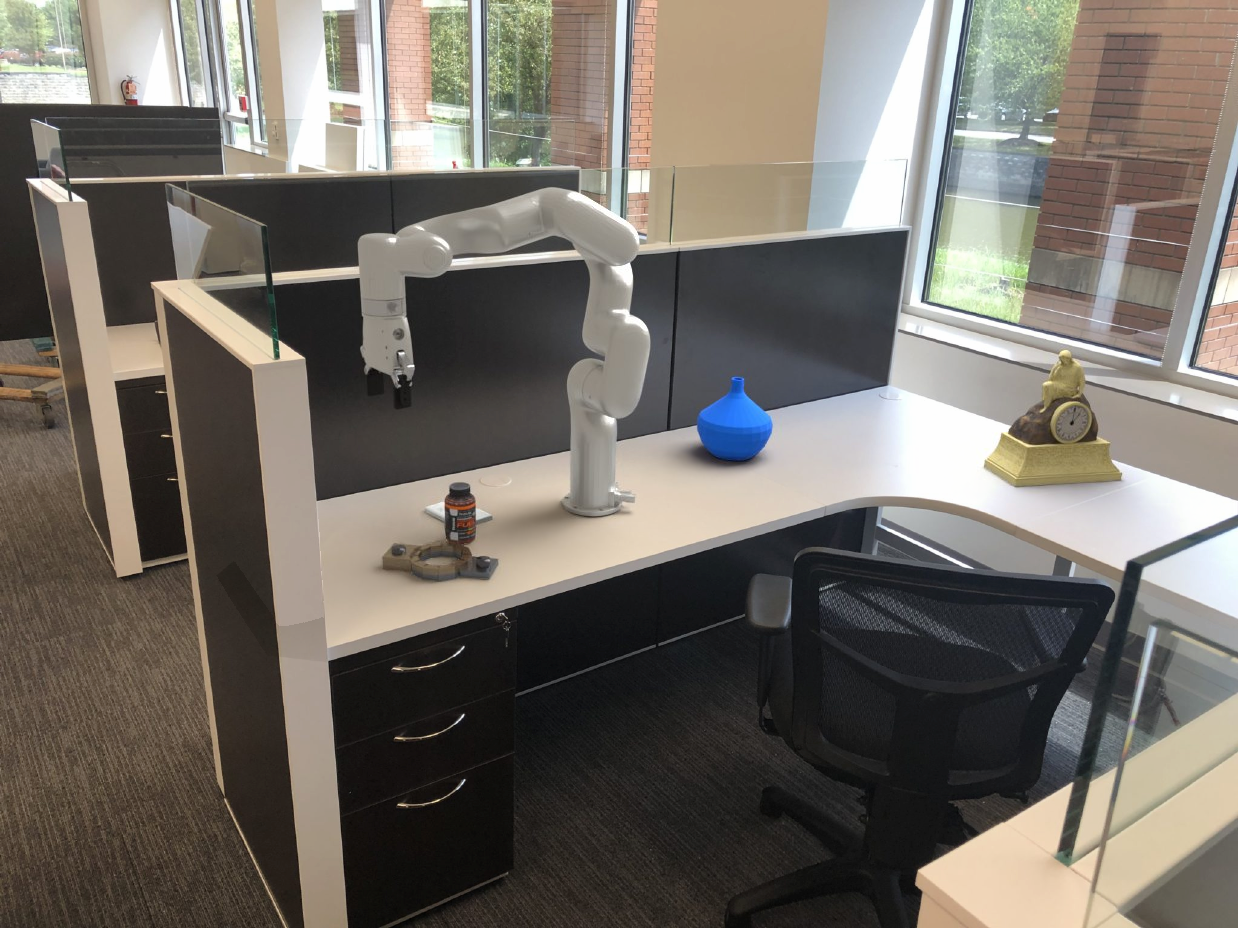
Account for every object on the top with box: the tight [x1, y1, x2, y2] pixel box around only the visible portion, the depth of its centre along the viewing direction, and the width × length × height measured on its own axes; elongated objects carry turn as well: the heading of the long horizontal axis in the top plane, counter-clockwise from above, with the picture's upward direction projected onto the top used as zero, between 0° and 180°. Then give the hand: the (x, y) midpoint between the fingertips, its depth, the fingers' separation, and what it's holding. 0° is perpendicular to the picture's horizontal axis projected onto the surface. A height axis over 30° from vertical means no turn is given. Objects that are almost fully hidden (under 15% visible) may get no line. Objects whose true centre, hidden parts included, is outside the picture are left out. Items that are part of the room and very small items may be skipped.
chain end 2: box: [410, 551, 499, 582], centre depth 177 cm, size 16×11×2 cm
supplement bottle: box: [443, 481, 477, 545], centre depth 187 cm, size 6×6×11 cm
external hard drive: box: [424, 501, 494, 526], centre depth 199 cm, size 2×8×12 cm
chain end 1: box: [381, 541, 473, 575], centre depth 177 cm, size 16×11×3 cm
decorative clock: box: [983, 349, 1123, 488], centre depth 227 cm, size 28×13×30 cm, turn 102°
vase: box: [696, 376, 774, 461], centre depth 235 cm, size 18×18×19 cm
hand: (388, 401), depth 174 cm, fingers open, 9 cm apart
